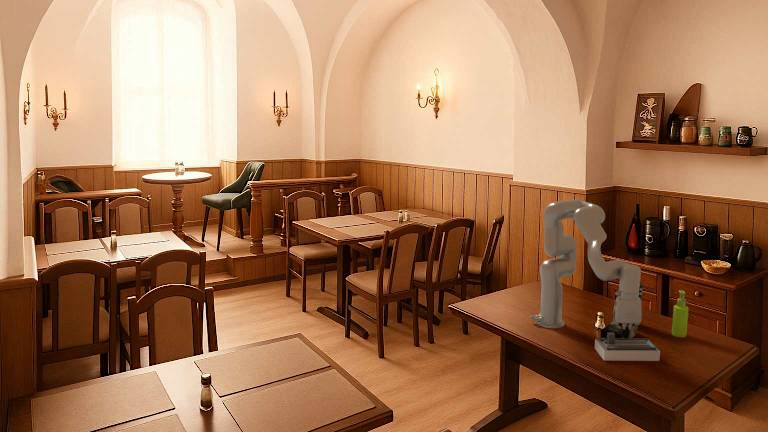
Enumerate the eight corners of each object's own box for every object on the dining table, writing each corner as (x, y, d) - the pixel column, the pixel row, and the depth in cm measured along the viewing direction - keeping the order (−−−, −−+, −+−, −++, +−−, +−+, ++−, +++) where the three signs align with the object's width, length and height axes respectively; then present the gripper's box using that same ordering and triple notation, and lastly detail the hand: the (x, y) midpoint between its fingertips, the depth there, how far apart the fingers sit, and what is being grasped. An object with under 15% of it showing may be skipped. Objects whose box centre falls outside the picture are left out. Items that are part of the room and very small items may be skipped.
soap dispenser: (684, 332, 261) (688, 290, 258) (687, 338, 255) (691, 294, 251) (670, 330, 263) (673, 288, 260) (672, 336, 257) (676, 293, 253)
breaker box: (603, 360, 234) (604, 348, 233) (594, 348, 245) (595, 336, 244) (659, 360, 233) (660, 348, 232) (647, 348, 244) (648, 337, 243)
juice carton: (616, 328, 268) (617, 315, 266) (638, 333, 261) (639, 321, 260) (598, 341, 253) (599, 328, 252) (621, 348, 247) (622, 334, 246)
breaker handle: (608, 346, 237) (609, 334, 236) (606, 343, 240) (607, 332, 239) (614, 346, 237) (615, 334, 236) (612, 343, 240) (613, 332, 239)
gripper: (612, 297, 231) (609, 340, 235) (651, 298, 230) (647, 341, 234) (606, 291, 238) (603, 333, 242) (643, 292, 238) (639, 334, 241)
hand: (624, 337), depth 238 cm, fingers closed
